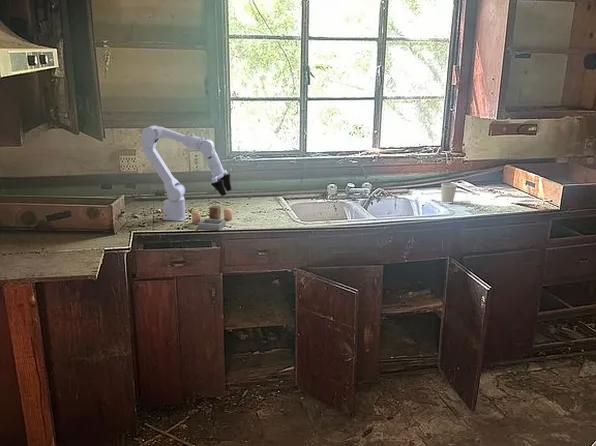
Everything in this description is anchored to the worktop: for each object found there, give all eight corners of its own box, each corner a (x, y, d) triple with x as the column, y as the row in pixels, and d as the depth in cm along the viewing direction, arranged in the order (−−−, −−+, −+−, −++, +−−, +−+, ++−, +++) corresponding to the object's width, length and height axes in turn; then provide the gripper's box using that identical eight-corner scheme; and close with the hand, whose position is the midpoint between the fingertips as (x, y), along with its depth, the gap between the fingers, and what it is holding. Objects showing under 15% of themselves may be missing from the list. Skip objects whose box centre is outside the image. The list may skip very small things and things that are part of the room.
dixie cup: (438, 203, 301) (440, 185, 298) (439, 200, 308) (441, 182, 306) (455, 205, 298) (456, 186, 296) (455, 201, 306) (457, 183, 303)
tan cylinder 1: (191, 223, 258) (190, 212, 256) (194, 221, 261) (193, 210, 259) (198, 224, 257) (198, 213, 255) (201, 222, 260) (201, 211, 259)
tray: (197, 228, 250) (197, 223, 250) (204, 223, 258) (204, 218, 257) (219, 230, 248) (219, 225, 248) (225, 225, 256) (225, 220, 255)
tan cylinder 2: (223, 220, 263) (222, 209, 262) (225, 218, 267) (225, 208, 265) (230, 221, 263) (230, 210, 261) (233, 218, 266) (232, 208, 265)
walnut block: (209, 220, 264) (209, 207, 262) (212, 217, 267) (212, 205, 266) (217, 220, 263) (217, 208, 261) (220, 218, 267) (220, 206, 265)
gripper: (217, 166, 249) (229, 194, 252) (227, 158, 262) (239, 185, 265) (203, 171, 251) (215, 199, 254) (214, 163, 264) (226, 190, 268)
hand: (226, 192), depth 260 cm, fingers open, 7 cm apart
